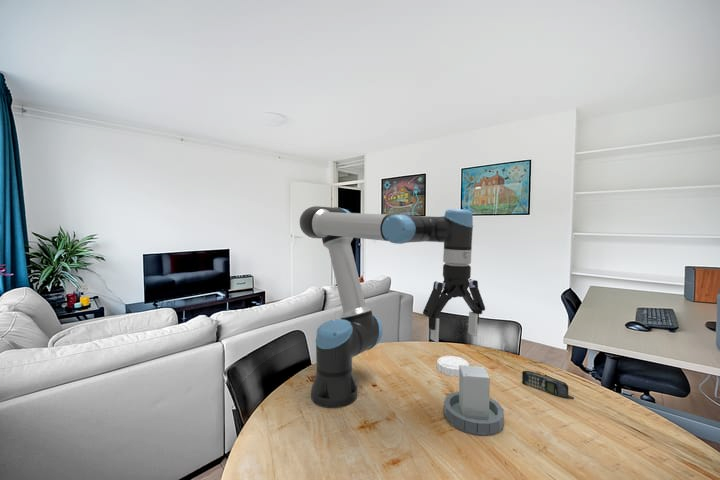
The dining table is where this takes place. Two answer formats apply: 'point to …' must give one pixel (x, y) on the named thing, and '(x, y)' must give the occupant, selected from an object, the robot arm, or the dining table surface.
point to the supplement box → (474, 392)
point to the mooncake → (450, 365)
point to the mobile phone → (545, 384)
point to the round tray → (472, 425)
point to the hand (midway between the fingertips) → (453, 337)
